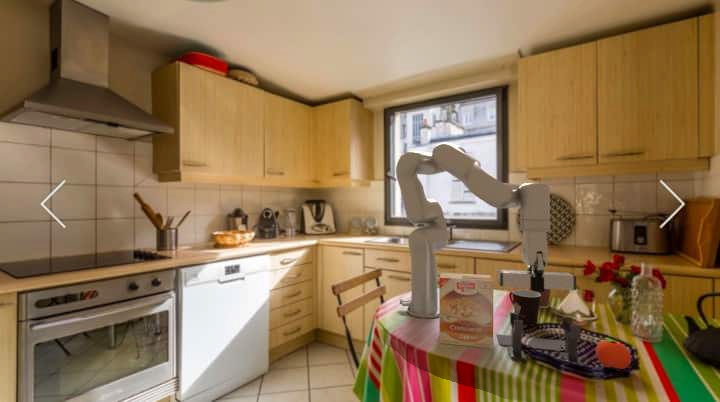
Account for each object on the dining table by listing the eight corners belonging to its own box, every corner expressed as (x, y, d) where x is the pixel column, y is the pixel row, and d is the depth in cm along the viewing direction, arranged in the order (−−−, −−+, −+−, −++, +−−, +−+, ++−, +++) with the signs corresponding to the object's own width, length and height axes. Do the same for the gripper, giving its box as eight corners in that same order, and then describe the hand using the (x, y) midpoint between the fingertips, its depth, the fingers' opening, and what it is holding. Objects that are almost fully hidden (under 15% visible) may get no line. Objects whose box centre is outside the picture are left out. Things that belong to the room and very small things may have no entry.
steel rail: (500, 286, 95) (500, 272, 95) (498, 282, 99) (498, 269, 99) (576, 290, 90) (576, 276, 90) (571, 286, 94) (571, 272, 94)
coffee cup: (530, 308, 125) (529, 277, 125) (524, 300, 134) (523, 271, 134) (556, 310, 123) (556, 278, 123) (548, 302, 132) (548, 272, 131)
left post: (511, 360, 86) (511, 320, 85) (507, 348, 92) (507, 312, 92) (526, 361, 85) (526, 321, 85) (521, 350, 91) (521, 313, 91)
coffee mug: (544, 328, 106) (544, 297, 106) (516, 326, 107) (515, 296, 107) (533, 315, 117) (533, 287, 117) (507, 314, 119) (507, 286, 119)
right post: (567, 366, 82) (567, 325, 82) (559, 354, 88) (559, 316, 88) (584, 368, 81) (584, 326, 81) (574, 355, 88) (574, 317, 87)
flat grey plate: (499, 345, 94) (499, 344, 94) (496, 335, 101) (496, 334, 101) (579, 353, 89) (579, 352, 89) (570, 342, 95) (570, 341, 95)
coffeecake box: (439, 343, 96) (438, 277, 95) (439, 333, 103) (439, 271, 102) (494, 349, 92) (493, 280, 91) (491, 338, 99) (490, 274, 98)
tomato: (585, 360, 85) (585, 333, 85) (610, 359, 86) (610, 332, 86) (611, 377, 77) (611, 347, 77) (638, 375, 78) (639, 345, 78)
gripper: (515, 223, 103) (515, 281, 104) (527, 228, 87) (527, 296, 87) (541, 223, 101) (542, 282, 102) (558, 228, 85) (559, 298, 85)
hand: (535, 288), depth 94 cm, fingers closed on steel rail, 4 cm apart
